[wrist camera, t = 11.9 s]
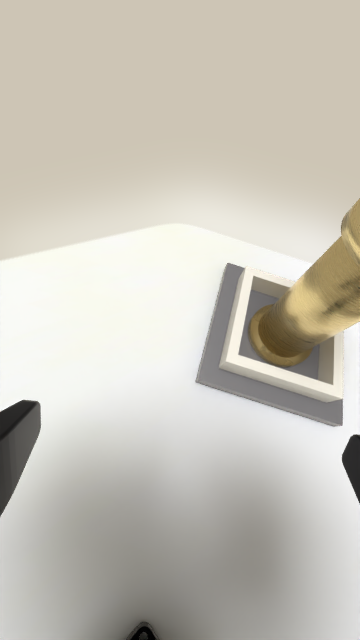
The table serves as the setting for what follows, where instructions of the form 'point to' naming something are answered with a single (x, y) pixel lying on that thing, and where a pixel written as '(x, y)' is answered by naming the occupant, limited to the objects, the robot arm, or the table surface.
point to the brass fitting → (313, 302)
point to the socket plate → (253, 372)
